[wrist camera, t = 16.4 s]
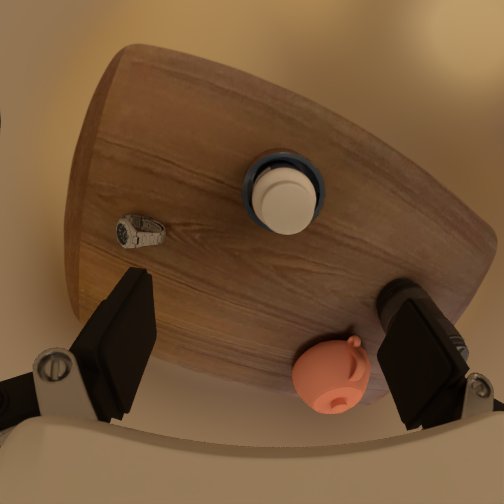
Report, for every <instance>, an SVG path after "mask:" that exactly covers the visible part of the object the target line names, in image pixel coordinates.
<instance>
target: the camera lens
mask: <svg viewBox="0 0 504 504" xmlns="http://www.w3.org/2000/svg"><path fill="white" fill-rule="evenodd" d="M408 298H418V299H421V300H423V302H424V303H425V304H426V306H427V307H428V308H429V310H430V311H431V312H432V314H433V315H434V316H435V318H436V319H437V321H438V322H439V323H440V325H441V326H442V328H443V329H444V330H445V332H446V333H447V335H448V336H449V338H450V339H451V340H452V342H453V343H454V345H455V346H456V348H457V349H458V351H459V352H460V354H461V356H462V357H463V359H464V360H465V362H467V359H468V355H469V351H468V348H467V346H466V345H465V342H464V339H463V338H462V337H461V335H460V334H459V332H458V331H457V330H456V328H455V327H454V326H453V324H452V323H451V322H450V321H449V320H448V319H447V318H445V316H444V315H443V314H442V312H441V311H440V310H439V308H438V307H437V306H436V304H435V303H434V301H433V300H432V299H431V297H430V296H429V295H428V294H427V292H425V291H424V290H423V289H422V288H421V287H420V286H419V285H418V284H415V283H413V282H412V281H411V280H408V279H398V280H395V281H393V282H391V283H389V284H388V285H387V286H386V287H385V288H384V289H383V290H382V291H381V293H380V295H379V297H378V300H377V308H378V316H379V319H380V322H381V325H382V328H383V330H384V332H385V334H386V335H387V333H388V331H389V329H390V327H391V325H392V323H393V321H394V319H395V317H396V315H397V313H398V311H399V309H400V306H401V304H402V303H403V302H404V301H405V300H406V299H408Z"/></svg>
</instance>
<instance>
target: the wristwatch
mask: <svg viewBox="0 0 504 504" xmlns="http://www.w3.org/2000/svg"><path fill="white" fill-rule="evenodd" d="M133 226H134V227H138V228H140V229H141V231H148V232H137V230H136V229H135V228H134V227H133ZM116 235H117V239H118V241H119V243H120V244H121V246H123V248H135V247H136V248H137V247H141V246H147V245H158V244H161V243H163V242H164V239H165V236H166V229H165V227H164V225H162V223H161V222H158V221H156V220H153V219H152V218H149V217H143V216H138V215H133V214H127V215H123V216H121V217H120V218H119V221H118V223H117V226H116Z"/></svg>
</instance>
